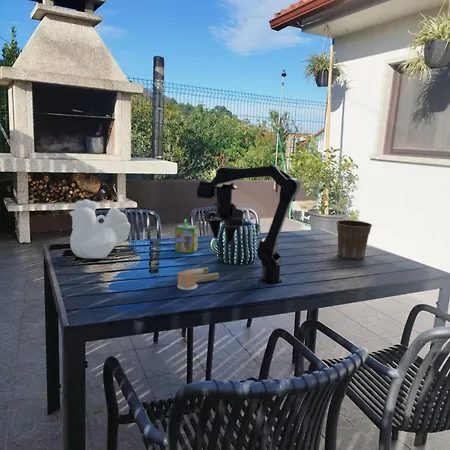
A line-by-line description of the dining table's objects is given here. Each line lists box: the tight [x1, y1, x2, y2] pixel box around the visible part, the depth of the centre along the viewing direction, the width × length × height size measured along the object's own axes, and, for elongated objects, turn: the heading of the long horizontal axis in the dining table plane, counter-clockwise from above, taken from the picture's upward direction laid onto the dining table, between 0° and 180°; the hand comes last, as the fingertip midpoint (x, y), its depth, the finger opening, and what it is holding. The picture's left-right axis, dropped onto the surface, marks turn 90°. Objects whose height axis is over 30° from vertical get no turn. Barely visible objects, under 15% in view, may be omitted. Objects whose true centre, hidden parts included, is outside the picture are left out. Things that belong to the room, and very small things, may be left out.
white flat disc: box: [176, 283, 198, 291], centre depth 149 cm, size 7×7×1 cm
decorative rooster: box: [69, 198, 132, 259], centre depth 179 cm, size 25×16×25 cm, turn 109°
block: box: [177, 269, 197, 288], centre depth 148 cm, size 4×4×4 cm
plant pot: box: [336, 219, 373, 260], centre depth 201 cm, size 16×16×16 cm
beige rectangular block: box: [187, 267, 204, 276], centre depth 158 cm, size 3×8×3 cm, turn 137°
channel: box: [183, 267, 220, 284], centre depth 160 cm, size 9×10×2 cm
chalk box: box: [174, 218, 199, 254], centre depth 198 cm, size 9×9×15 cm
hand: (222, 240), depth 165 cm, fingers open, 9 cm apart
